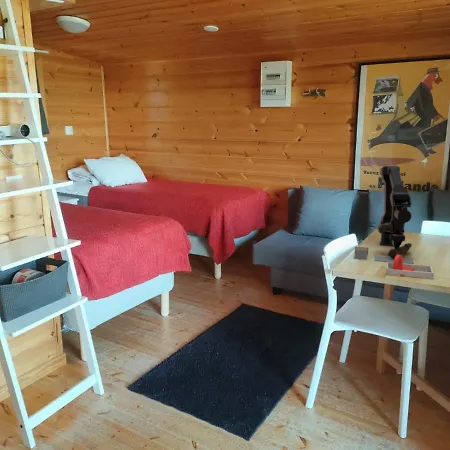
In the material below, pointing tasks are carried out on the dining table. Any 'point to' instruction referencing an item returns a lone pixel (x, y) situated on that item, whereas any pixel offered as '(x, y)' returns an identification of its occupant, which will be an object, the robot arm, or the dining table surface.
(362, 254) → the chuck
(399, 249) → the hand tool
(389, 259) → the mat
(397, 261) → the bracket
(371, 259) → the dining table surface
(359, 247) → the key
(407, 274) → the parts frame
